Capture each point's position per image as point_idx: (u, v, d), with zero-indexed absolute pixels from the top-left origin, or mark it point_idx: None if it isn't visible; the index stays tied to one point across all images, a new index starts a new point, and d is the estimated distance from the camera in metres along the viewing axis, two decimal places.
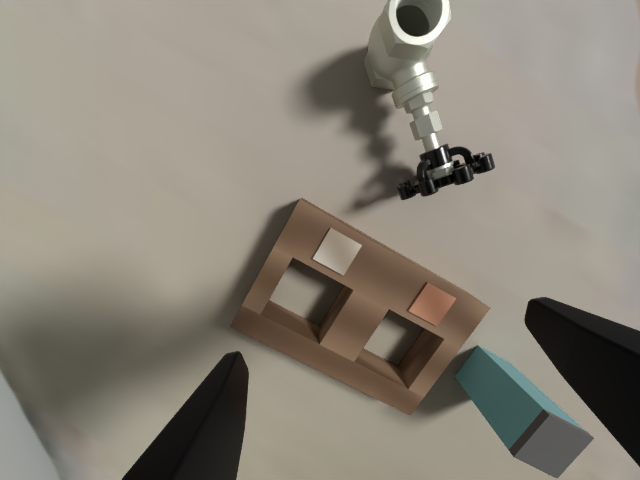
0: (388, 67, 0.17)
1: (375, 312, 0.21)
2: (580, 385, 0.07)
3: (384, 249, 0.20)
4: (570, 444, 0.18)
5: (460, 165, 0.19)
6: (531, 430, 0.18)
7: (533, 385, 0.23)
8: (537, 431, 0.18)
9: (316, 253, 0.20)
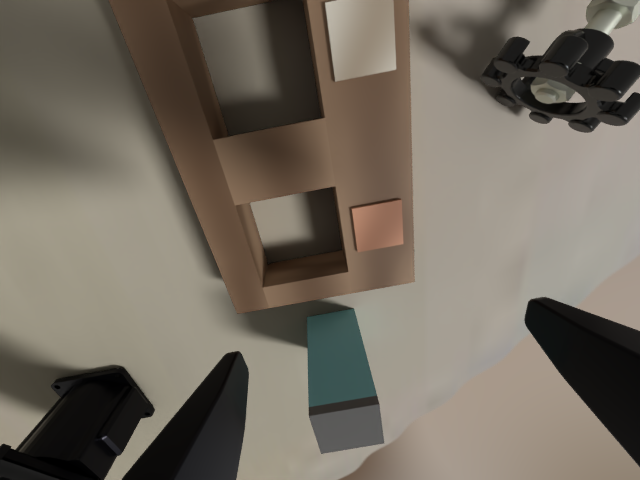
0: None
1: (318, 173, 0.14)
2: (581, 385, 0.07)
3: (408, 109, 0.13)
4: (363, 436, 0.16)
5: (570, 104, 0.13)
6: (348, 405, 0.15)
7: None
8: (353, 409, 0.15)
9: (337, 1, 0.11)
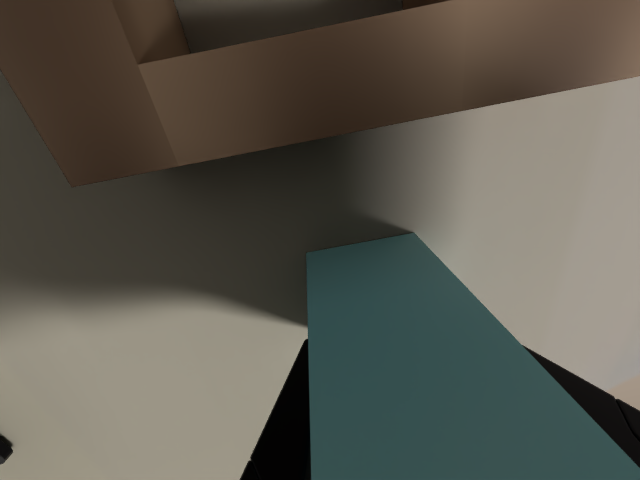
0: None
1: None
2: None
3: None
4: None
5: None
6: None
7: None
8: None
9: None
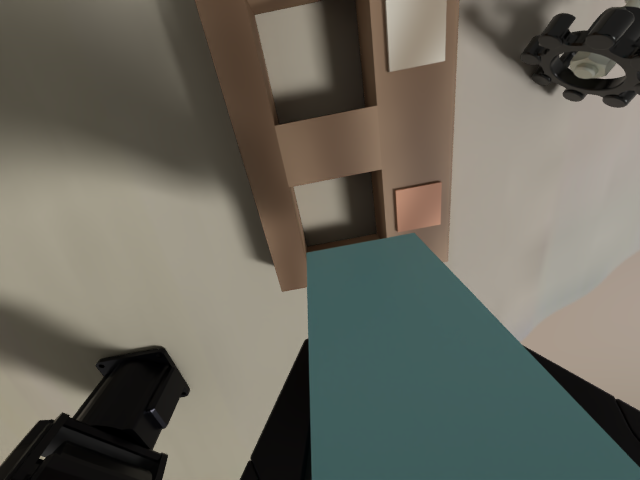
0: None
1: (367, 157, 0.15)
2: None
3: (452, 98, 0.14)
4: None
5: (606, 80, 0.14)
6: None
7: None
8: None
9: None
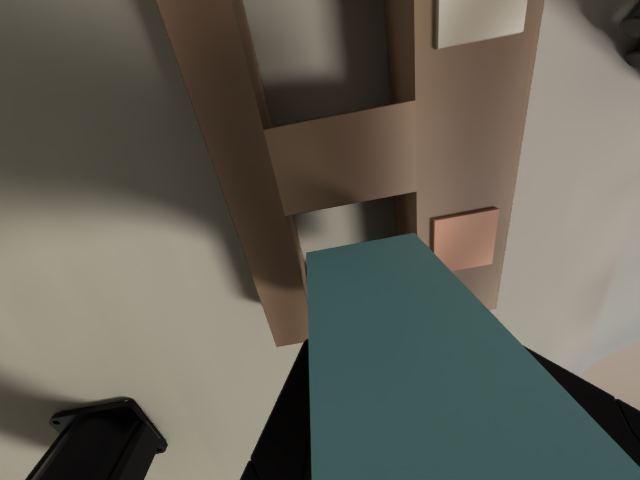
0: None
1: (396, 175, 0.10)
2: None
3: (527, 89, 0.09)
4: None
5: None
6: None
7: None
8: None
9: None
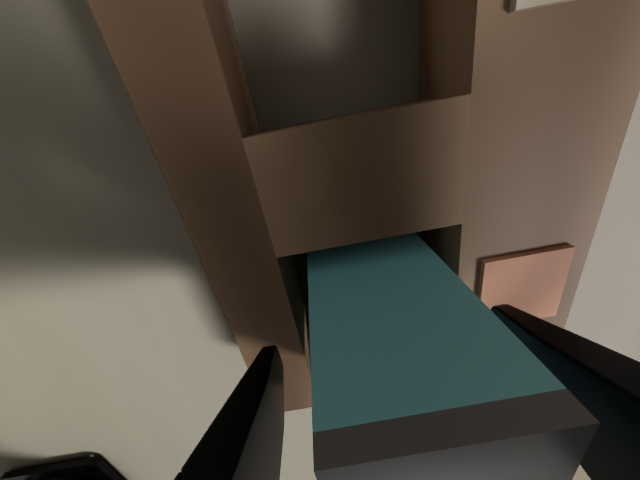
0: None
1: (435, 202, 0.07)
2: None
3: (639, 77, 0.06)
4: None
5: None
6: (466, 427, 0.04)
7: None
8: (488, 445, 0.04)
9: None
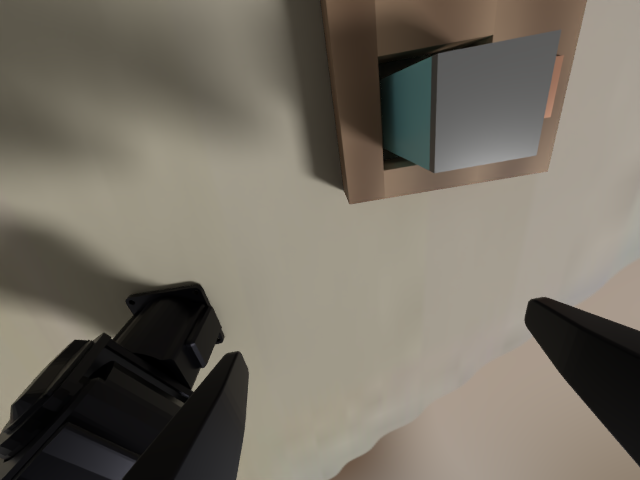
0: None
1: (478, 16, 0.12)
2: (580, 384, 0.07)
3: None
4: (509, 130, 0.10)
5: None
6: None
7: None
8: (513, 44, 0.09)
9: None
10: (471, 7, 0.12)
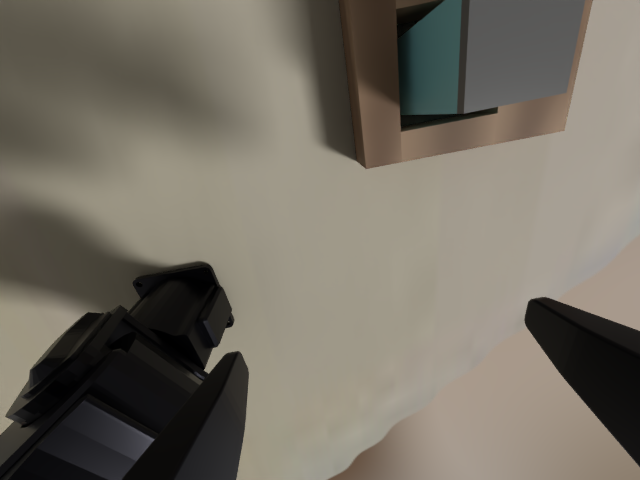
0: None
1: None
2: (580, 385, 0.07)
3: None
4: (540, 65, 0.10)
5: None
6: None
7: None
8: None
9: None
10: None
